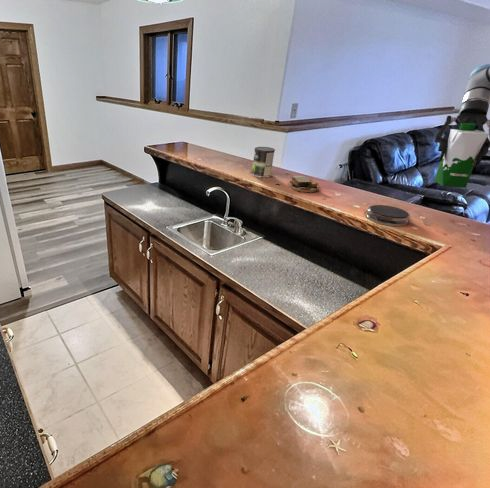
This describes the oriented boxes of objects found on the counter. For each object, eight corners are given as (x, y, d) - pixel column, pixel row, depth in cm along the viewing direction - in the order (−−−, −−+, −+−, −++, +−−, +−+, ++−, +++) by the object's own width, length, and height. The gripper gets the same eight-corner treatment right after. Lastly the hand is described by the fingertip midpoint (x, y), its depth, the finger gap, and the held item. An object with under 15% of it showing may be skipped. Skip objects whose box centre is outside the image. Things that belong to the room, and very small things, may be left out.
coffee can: (253, 177, 184) (257, 150, 178) (249, 172, 193) (252, 146, 187) (273, 177, 184) (277, 150, 178) (268, 172, 193) (272, 146, 187)
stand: (408, 217, 136) (411, 209, 134) (406, 229, 126) (409, 220, 124) (368, 210, 143) (370, 202, 141) (363, 220, 133) (365, 212, 131)
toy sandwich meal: (296, 193, 161) (298, 183, 159) (285, 184, 173) (287, 175, 171) (322, 193, 162) (324, 183, 160) (310, 184, 174) (312, 175, 172)
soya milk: (457, 181, 125) (480, 123, 116) (470, 189, 117) (496, 127, 108) (429, 179, 127) (450, 122, 118) (440, 187, 119) (463, 125, 110)
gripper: (511, 116, 118) (497, 172, 113) (433, 111, 129) (417, 162, 124) (522, 100, 112) (507, 158, 107) (438, 96, 123) (422, 149, 118)
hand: (459, 160), depth 116 cm, fingers closed on soya milk, 9 cm apart
